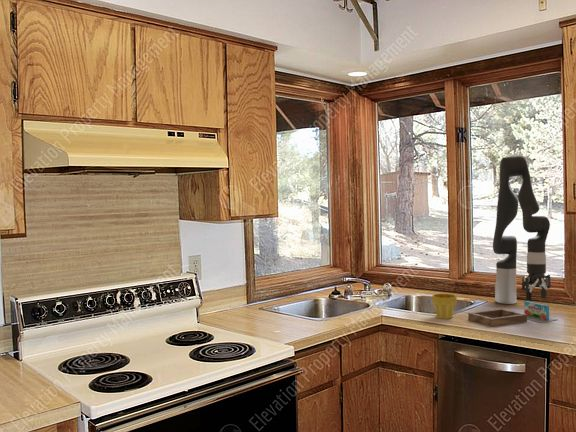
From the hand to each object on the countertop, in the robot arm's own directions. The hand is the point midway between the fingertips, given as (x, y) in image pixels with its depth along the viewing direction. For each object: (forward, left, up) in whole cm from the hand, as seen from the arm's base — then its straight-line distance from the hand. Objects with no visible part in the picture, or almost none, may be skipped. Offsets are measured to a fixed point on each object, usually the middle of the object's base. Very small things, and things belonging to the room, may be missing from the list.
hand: (536, 299), depth 240 cm
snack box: (0, 0, -8) cm, 8 cm away
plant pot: (-20, -33, -8) cm, 40 cm away
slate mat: (0, 0, -8) cm, 8 cm away
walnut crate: (-4, -18, -8) cm, 20 cm away
